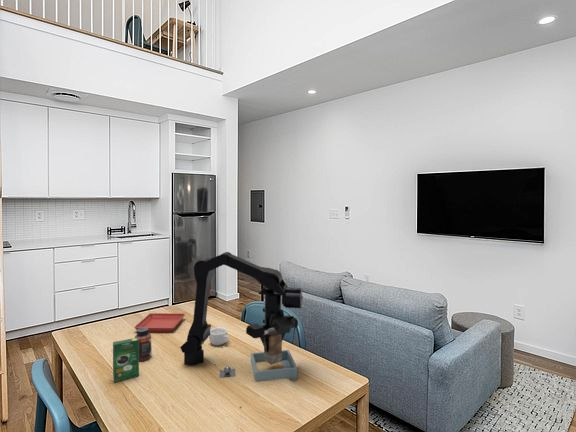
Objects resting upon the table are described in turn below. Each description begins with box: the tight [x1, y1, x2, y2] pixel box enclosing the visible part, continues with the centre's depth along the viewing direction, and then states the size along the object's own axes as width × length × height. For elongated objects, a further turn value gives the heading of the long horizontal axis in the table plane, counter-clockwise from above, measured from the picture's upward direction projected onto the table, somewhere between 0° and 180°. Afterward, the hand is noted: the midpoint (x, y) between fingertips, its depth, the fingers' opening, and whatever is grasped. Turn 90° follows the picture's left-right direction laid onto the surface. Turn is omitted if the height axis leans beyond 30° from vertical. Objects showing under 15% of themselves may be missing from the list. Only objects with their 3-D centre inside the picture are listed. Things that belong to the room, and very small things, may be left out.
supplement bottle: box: [134, 328, 153, 362], centre depth 137 cm, size 6×6×11 cm
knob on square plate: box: [219, 365, 237, 379], centre depth 124 cm, size 5×5×3 cm
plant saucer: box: [134, 312, 186, 333], centre depth 170 cm, size 18×18×3 cm
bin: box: [250, 349, 299, 382], centre depth 128 cm, size 14×14×4 cm
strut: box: [263, 329, 283, 366], centre depth 127 cm, size 4×4×10 cm
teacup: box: [208, 326, 230, 346], centre depth 150 cm, size 10×8×5 cm
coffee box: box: [112, 337, 140, 383], centre depth 123 cm, size 8×3×13 cm, turn 123°
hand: (272, 349), depth 127 cm, fingers closed on strut, 4 cm apart
